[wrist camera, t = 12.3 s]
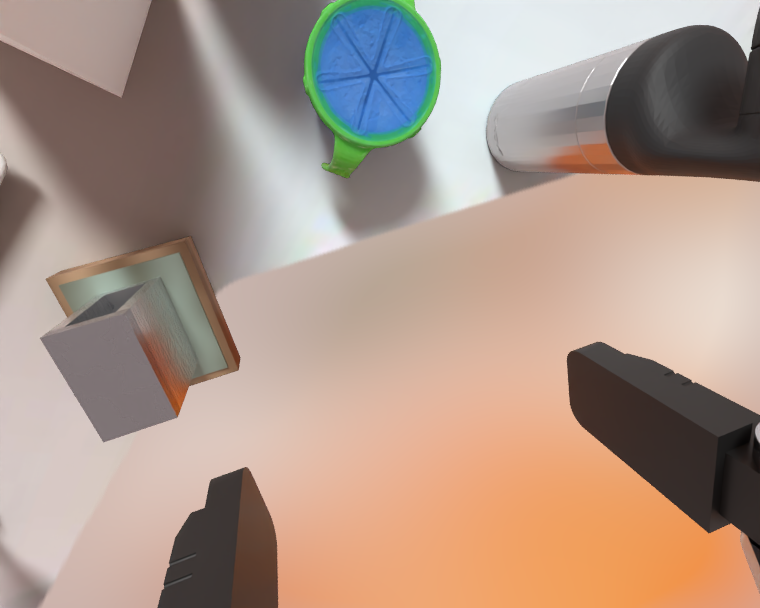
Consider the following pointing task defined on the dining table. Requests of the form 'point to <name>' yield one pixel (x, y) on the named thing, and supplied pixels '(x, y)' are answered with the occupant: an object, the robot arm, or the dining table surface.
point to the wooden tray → (183, 286)
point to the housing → (125, 358)
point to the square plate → (2, 167)
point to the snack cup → (370, 76)
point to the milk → (78, 35)
